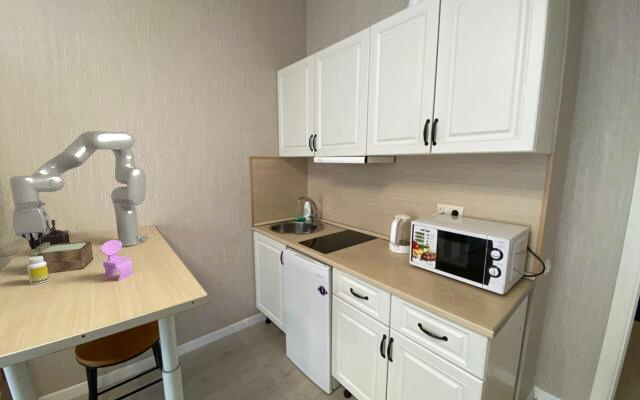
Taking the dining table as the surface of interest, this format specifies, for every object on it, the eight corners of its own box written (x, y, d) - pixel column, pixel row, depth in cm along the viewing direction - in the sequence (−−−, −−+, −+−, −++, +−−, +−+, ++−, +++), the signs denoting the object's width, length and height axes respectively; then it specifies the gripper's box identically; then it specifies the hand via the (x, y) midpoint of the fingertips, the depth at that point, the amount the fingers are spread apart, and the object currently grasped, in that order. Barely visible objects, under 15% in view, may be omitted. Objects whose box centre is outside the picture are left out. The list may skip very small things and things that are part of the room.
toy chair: (116, 282, 107) (111, 245, 104) (100, 279, 110) (95, 243, 107) (136, 273, 115) (132, 239, 112) (120, 271, 117) (116, 237, 115)
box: (93, 259, 130) (90, 241, 128) (83, 269, 119) (80, 249, 117) (55, 263, 124) (52, 244, 123) (40, 274, 114) (37, 253, 112)
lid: (85, 244, 126) (85, 238, 126) (77, 250, 118) (76, 244, 118) (46, 248, 121) (45, 242, 121) (34, 254, 113) (33, 248, 112)
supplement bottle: (52, 279, 109) (48, 256, 107) (35, 285, 104) (30, 261, 102) (44, 277, 111) (40, 254, 109) (26, 283, 106) (22, 259, 104)
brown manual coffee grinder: (42, 251, 140) (36, 216, 137) (71, 246, 147) (66, 213, 144) (39, 260, 128) (33, 222, 125) (71, 254, 136) (66, 219, 133)
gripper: (56, 203, 119) (62, 243, 123) (9, 205, 114) (17, 247, 117) (46, 206, 113) (54, 249, 116) (-3, 208, 107) (6, 253, 110)
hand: (35, 248), depth 116 cm, fingers closed
